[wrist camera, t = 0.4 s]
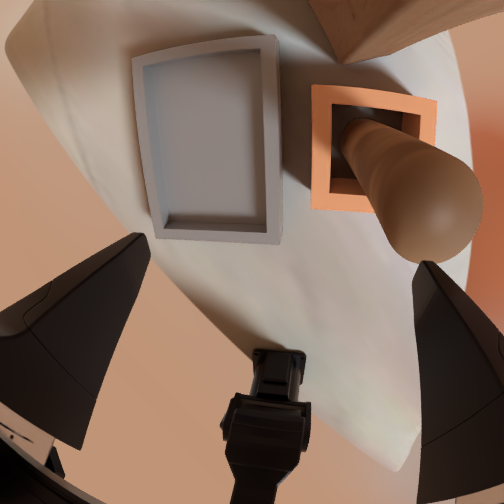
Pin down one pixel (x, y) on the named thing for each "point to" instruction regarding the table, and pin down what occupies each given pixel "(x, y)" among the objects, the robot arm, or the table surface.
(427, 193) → the dowel pin
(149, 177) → the tray
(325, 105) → the orange square ring
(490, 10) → the wooden block
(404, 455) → the table surface
